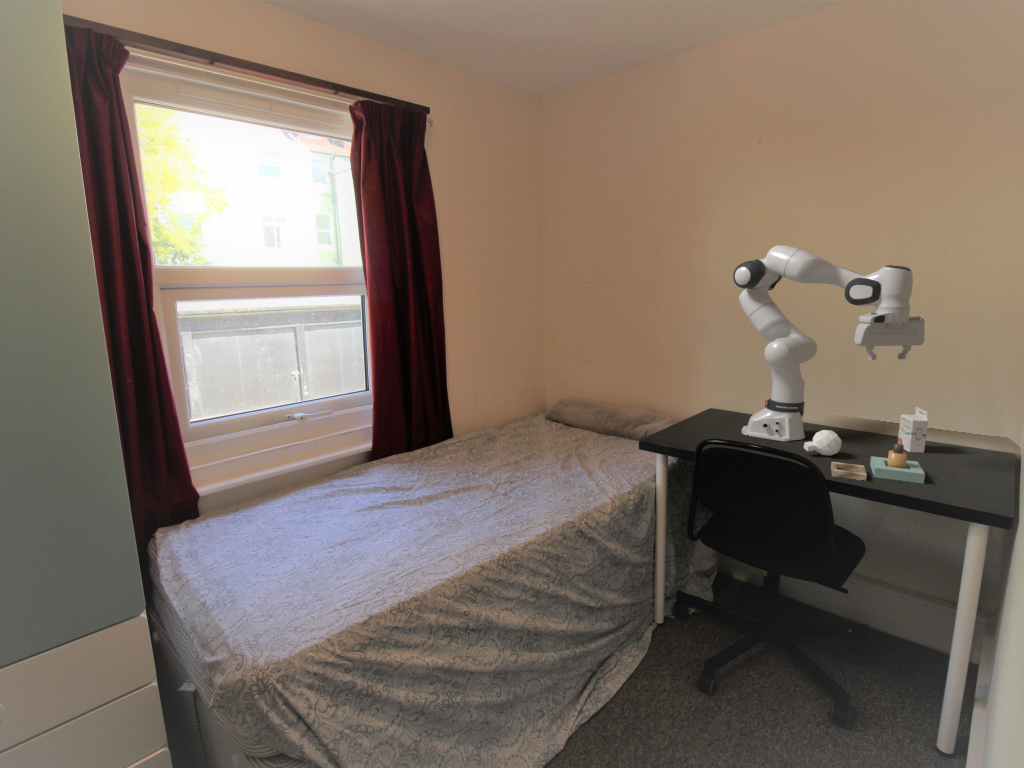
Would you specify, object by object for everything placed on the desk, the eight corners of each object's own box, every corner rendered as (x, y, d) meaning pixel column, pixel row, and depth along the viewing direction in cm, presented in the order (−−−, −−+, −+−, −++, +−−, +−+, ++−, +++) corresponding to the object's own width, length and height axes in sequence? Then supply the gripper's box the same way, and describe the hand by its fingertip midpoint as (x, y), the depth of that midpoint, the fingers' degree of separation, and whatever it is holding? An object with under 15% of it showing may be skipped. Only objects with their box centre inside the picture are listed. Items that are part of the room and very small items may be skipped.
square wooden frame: (832, 476, 162) (832, 470, 161) (830, 467, 169) (831, 461, 169) (866, 481, 157) (866, 474, 157) (863, 471, 165) (863, 465, 165)
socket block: (874, 477, 160) (875, 467, 160) (870, 464, 171) (871, 456, 170) (923, 483, 155) (925, 474, 154) (916, 470, 165) (917, 461, 164)
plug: (887, 475, 162) (890, 445, 160) (885, 470, 166) (888, 441, 164) (905, 477, 160) (909, 447, 158) (903, 472, 164) (906, 443, 162)
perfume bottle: (828, 444, 187) (796, 449, 187) (833, 423, 183) (800, 428, 182) (845, 458, 180) (811, 464, 179) (850, 437, 175) (816, 442, 175)
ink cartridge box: (896, 445, 190) (900, 405, 188) (911, 445, 189) (916, 406, 187) (908, 452, 182) (913, 411, 179) (924, 453, 181) (930, 412, 178)
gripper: (917, 315, 170) (912, 357, 172) (853, 316, 171) (849, 358, 173) (932, 316, 164) (926, 360, 166) (865, 318, 164) (861, 361, 167)
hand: (886, 359), depth 170 cm, fingers open, 8 cm apart
